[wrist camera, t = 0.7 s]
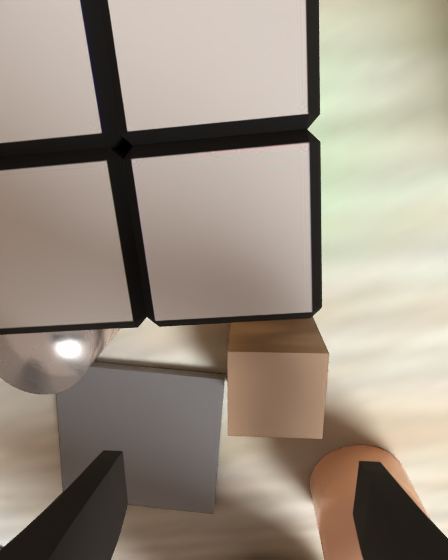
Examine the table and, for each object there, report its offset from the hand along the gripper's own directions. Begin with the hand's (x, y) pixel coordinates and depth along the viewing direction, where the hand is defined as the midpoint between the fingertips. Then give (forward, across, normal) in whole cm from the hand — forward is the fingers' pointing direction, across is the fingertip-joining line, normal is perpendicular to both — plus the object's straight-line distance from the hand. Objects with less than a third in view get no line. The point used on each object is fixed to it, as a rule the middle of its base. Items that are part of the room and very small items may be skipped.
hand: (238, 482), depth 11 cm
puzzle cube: (+11, +3, -10) cm, 15 cm away
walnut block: (+10, -2, +1) cm, 11 cm away
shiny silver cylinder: (+10, +9, -2) cm, 14 cm away
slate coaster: (+10, +6, +7) cm, 14 cm away
